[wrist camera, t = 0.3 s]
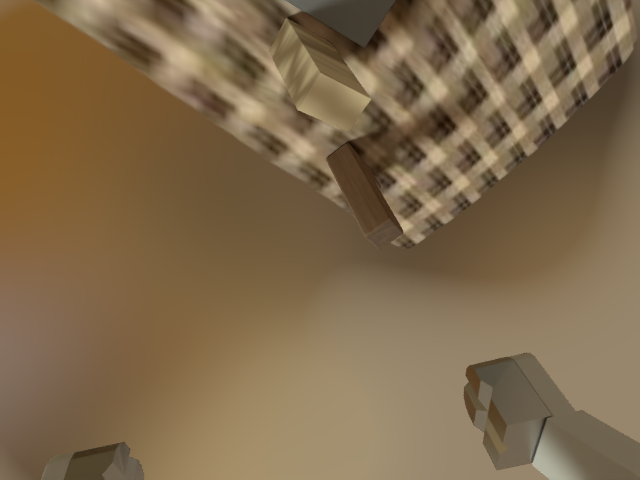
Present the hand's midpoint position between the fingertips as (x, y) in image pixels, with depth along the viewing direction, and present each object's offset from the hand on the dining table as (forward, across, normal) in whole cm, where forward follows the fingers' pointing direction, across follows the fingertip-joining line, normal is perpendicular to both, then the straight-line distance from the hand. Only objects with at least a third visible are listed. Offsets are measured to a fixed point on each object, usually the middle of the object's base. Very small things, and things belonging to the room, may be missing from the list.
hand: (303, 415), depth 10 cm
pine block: (+53, -6, +2) cm, 53 cm away
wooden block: (+59, -13, +22) cm, 65 cm away
